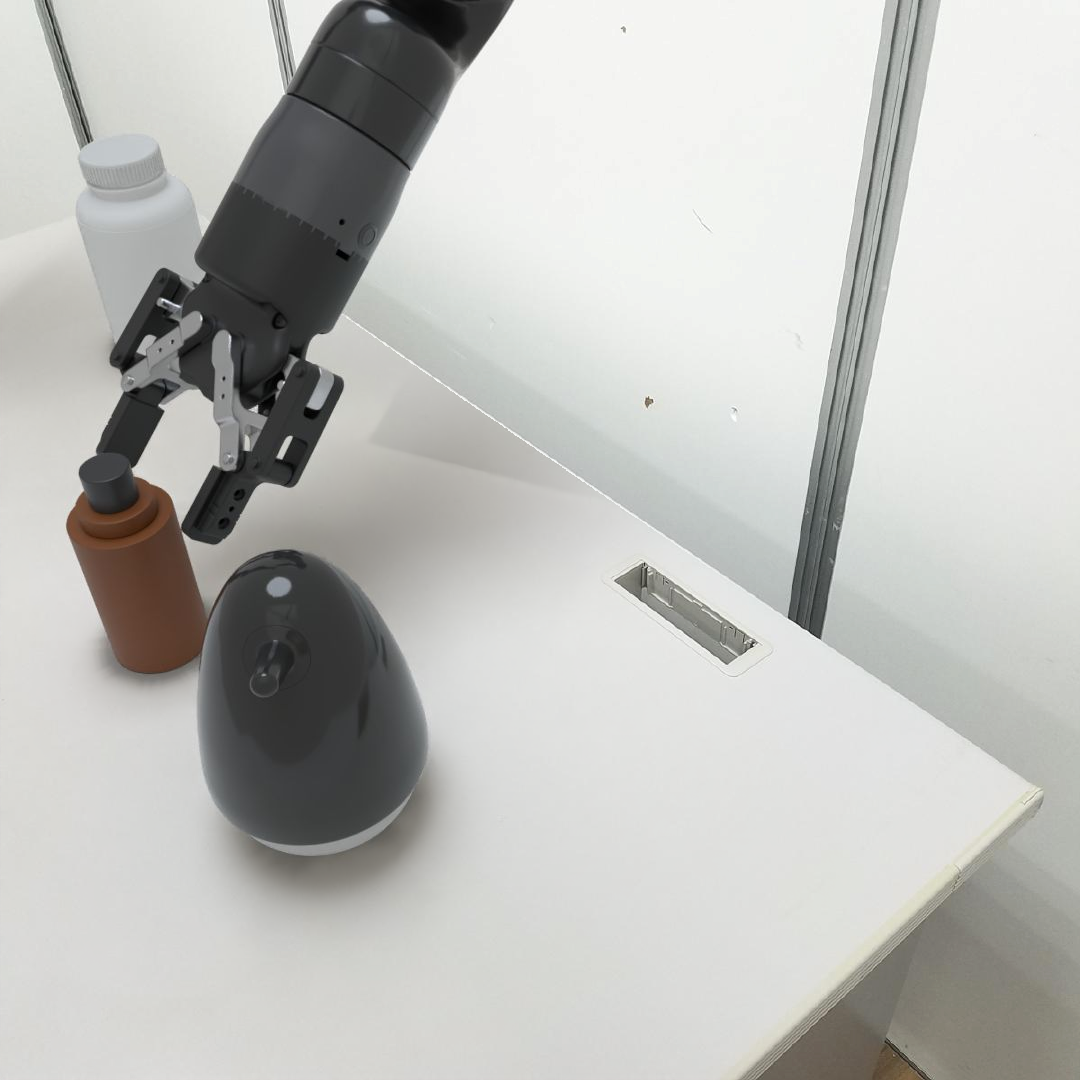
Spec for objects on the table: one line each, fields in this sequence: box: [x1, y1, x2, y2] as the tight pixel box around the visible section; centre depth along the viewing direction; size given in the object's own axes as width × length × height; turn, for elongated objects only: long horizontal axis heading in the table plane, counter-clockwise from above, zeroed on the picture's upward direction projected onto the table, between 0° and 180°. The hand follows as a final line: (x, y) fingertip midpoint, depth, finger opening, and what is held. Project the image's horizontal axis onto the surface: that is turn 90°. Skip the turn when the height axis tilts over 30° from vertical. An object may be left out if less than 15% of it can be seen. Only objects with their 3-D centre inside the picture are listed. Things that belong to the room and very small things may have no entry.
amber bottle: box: [65, 453, 209, 674], centre depth 59 cm, size 5×5×12 cm
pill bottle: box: [75, 133, 206, 356], centre depth 81 cm, size 8×8×15 cm
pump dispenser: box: [196, 548, 430, 857], centre depth 50 cm, size 10×10×15 cm
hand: (154, 499), depth 58 cm, fingers open, 8 cm apart
